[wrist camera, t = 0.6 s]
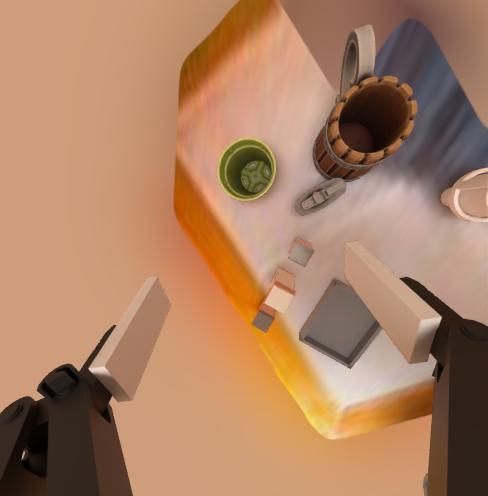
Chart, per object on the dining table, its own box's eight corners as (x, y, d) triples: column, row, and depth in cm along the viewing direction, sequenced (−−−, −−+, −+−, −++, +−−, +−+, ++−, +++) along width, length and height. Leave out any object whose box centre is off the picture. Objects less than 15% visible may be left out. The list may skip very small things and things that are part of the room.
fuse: (295, 275, 43) (295, 296, 34) (286, 290, 44) (283, 314, 35) (278, 267, 44) (273, 284, 34) (270, 282, 45) (263, 303, 35)
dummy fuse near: (312, 244, 41) (314, 250, 35) (303, 258, 42) (304, 267, 36) (296, 236, 41) (296, 242, 36) (289, 251, 42) (287, 258, 37)
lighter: (300, 217, 41) (301, 221, 31) (291, 202, 40) (289, 201, 31) (340, 194, 38) (355, 191, 29) (331, 178, 38) (343, 169, 28)
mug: (381, 175, 36) (435, 157, 22) (316, 188, 39) (327, 179, 25) (373, 75, 34) (428, -19, 19) (304, 97, 37) (309, 28, 22)
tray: (388, 306, 40) (394, 313, 37) (347, 359, 44) (350, 369, 41) (333, 278, 41) (336, 283, 39) (299, 332, 45) (299, 340, 43)
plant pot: (225, 164, 42) (208, 155, 34) (269, 141, 39) (262, 125, 31) (243, 208, 43) (230, 210, 35) (287, 189, 40) (285, 185, 32)
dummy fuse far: (276, 305, 45) (273, 319, 40) (270, 316, 46) (266, 332, 41) (263, 298, 46) (258, 311, 40) (257, 309, 47) (251, 324, 41)
